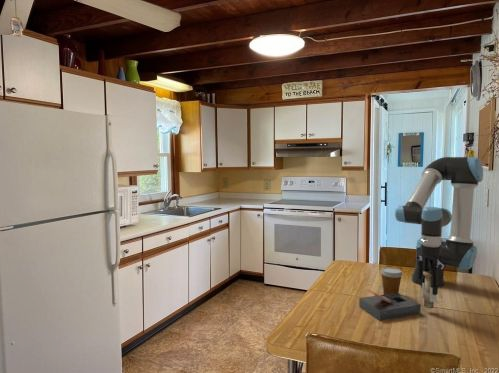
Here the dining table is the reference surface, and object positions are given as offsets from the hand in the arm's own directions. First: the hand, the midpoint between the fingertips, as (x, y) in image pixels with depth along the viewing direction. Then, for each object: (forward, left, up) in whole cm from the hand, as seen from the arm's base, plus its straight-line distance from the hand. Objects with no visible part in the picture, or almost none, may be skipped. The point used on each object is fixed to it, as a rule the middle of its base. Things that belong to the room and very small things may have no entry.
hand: (429, 299), depth 155 cm
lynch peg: (0, 0, -3) cm, 3 cm away
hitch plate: (+15, -7, -6) cm, 17 cm away
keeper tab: (+20, -7, +1) cm, 21 cm away
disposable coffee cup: (+3, -21, -6) cm, 22 cm away
